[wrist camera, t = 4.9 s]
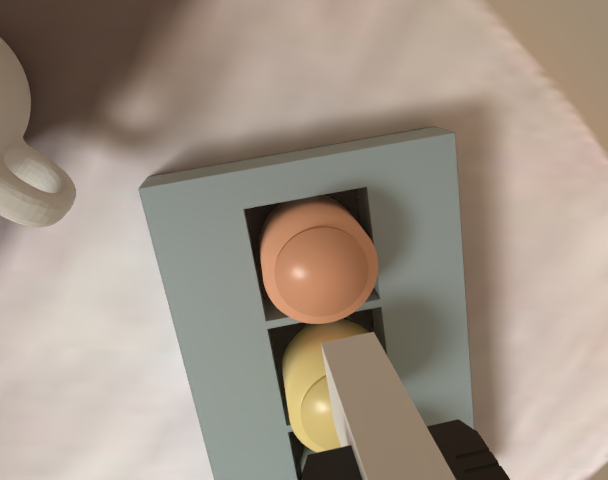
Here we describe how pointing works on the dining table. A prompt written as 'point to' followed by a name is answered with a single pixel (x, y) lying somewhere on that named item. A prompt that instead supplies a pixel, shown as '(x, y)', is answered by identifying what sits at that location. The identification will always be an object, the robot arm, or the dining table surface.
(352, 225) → the button terracotta
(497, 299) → the dining table surface
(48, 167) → the cup
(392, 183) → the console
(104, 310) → the dining table surface
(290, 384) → the button ochre
